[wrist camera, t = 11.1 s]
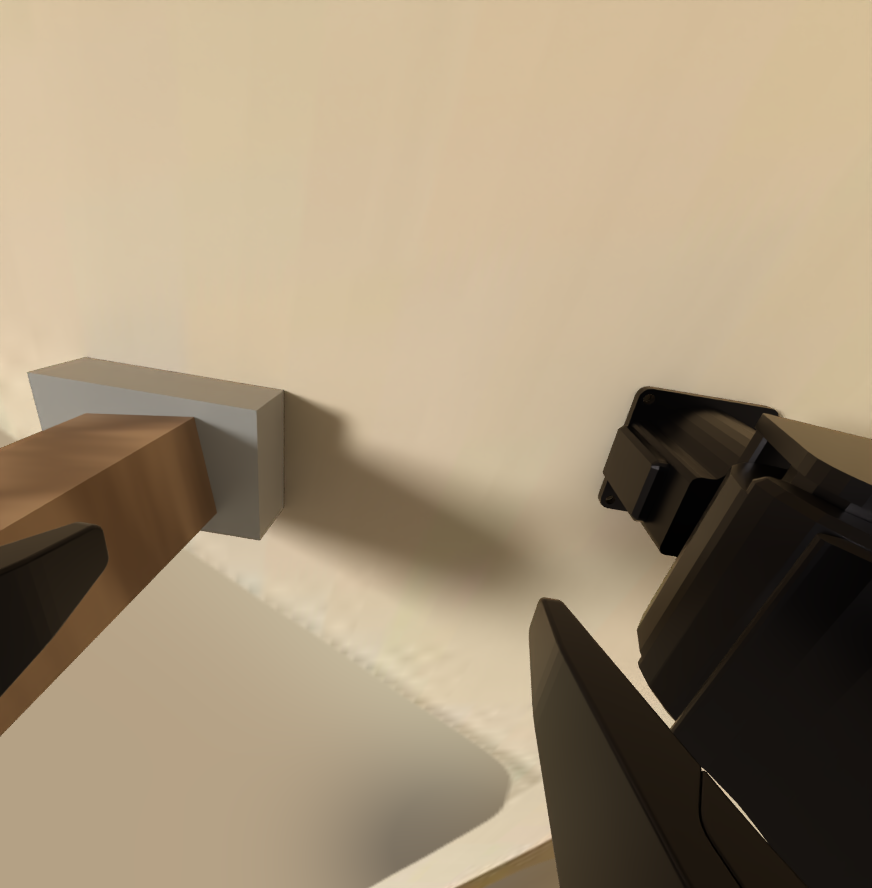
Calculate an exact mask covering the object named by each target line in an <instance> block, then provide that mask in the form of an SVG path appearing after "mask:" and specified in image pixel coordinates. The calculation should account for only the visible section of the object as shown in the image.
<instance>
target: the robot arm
mask: <svg viewBox="0 0 872 888" xmlns="http://www.w3.org/2000/svg"><path fill="white" fill-rule="evenodd" d="M648 394H651V399H650V400H649V401H647V402H644V401H643V400H644V397H645V396H646V395H648ZM603 474H604V476H605V478H604V481H603V484H602V486H601V489H600V492H599V495H598V499H599V501H600V503H601V505H602V506H604V507H606V508H610V509H616V510H622V511H628V513H629V514H630V516H631V517H632V519H633V520H634V521H639V522H641V524H642V525H643V527H644V528H645V530H646V531H647V533H648V534H649V536H650V537H651V539H652V540H653V542H654V543H655V545H656V546H657V548H658V549H659V551H660V552H661V553H662V554H664V555H670V556H675V557H677V559H676V560H675V562H674V564H673V565H672V567H671V569H670V570H669V572H668V574H667V575H666V577H665V579H664V580H663V582H662V584H661V585H660V587H659V589H658V590H657V592H656V593H655V595H654V597H653V598H652V600H651V602H650V604H649V606H648V607H647V609H646V611H645V612H644V614H643V616H642V618H641V621H640V623H639V626H638V628H637V634H638V641H639V649H640V653H641V658H640V659H639V661H638V665H639V668H640V670H641V672H642V674H643V676H644V678H645V680H646V682H647V684H648V686H649V687H650V689H651V690H652V692H653V693H654V695H655V696H656V697H657V699H658V700H659V702H660V703H661V704H662V706H663V707H664V709H665V710H666V711H667V713H668V714H669V715H670V716H671V717H672V718H673V719H674V720H675V723H674V724H673V725H672V727H671V728H670V729H669V727H668V726H667V725H666V724H665V723H664V722H663V720H662V719H661V718H660V717H659V716H658V714H657V713H656V712H655V711H654V710H653V708H652V707H651V706H650V705H649V704H648V703H647V701H646V700H645V699H644V698H643V697H642V695H641V694H640V693H639V692H638V691H637V690H636V688H635V687H634V686H633V685H632V684H631V682H630V681H629V680H628V679H627V678H626V676H625V675H624V674H623V673H622V672H621V671H620V669H619V668H618V667H617V666H616V665H615V663H614V662H613V661H612V660H611V659H610V658H609V656H608V655H607V654H606V653H605V652H604V650H603V649H602V648H601V647H600V646H599V644H598V643H597V642H596V641H595V640H594V639H593V637H592V636H591V635H590V634H589V633H588V631H587V630H586V629H585V628H584V627H583V626H582V624H581V623H580V622H579V621H578V620H577V618H576V617H575V616H574V615H573V614H572V612H571V611H570V610H569V609H568V608H567V607H566V605H565V604H564V603H563V602H562V601H560V600H557V599H551V598H545V597H543V598H541V599H540V600H539V602H538V604H537V607H536V610H535V613H534V616H533V619H532V622H531V625H530V629H529V650H530V669H531V688H532V706H533V718H534V726H535V733H536V739H537V745H538V752H539V758H540V765H541V771H542V777H543V784H544V790H545V796H546V803H547V809H548V816H549V822H550V828H551V835H552V841H553V847H554V854H555V860H556V866H557V872H558V879H559V886H560V888H872V439H868V438H864V437H860V436H856V435H852V434H848V433H844V432H840V431H836V430H831V429H827V428H823V427H819V426H815V425H811V424H807V423H803V422H799V421H795V420H791V419H786V418H782V417H778V413H777V412H776V410H774V409H772V408H770V407H767V406H763V405H757V404H751V403H745V402H739V401H733V400H727V399H722V398H716V397H710V396H704V395H698V394H692V393H686V392H680V391H674V390H668V389H662V388H656V387H650V386H646V387H643V388H641V389H639V390H638V391H637V393H636V394H635V397H634V400H633V402H632V405H631V408H630V411H629V413H628V416H627V419H626V421H625V424H624V425H623V426H622V427H621V428H619V429H618V431H617V434H616V437H615V440H614V442H613V445H612V448H611V451H610V453H609V456H608V459H607V462H606V464H605V467H604V470H603ZM608 496H613V497H612V498H611V499H610V500H605V499H606V498H607V497H608ZM108 561H109V554H108V550H107V545H106V541H105V536H104V531H103V529H102V528H101V527H100V526H99V525H96V524H91V523H84V522H75V523H71V524H68V525H65V526H62V527H59V528H56V529H52V530H49V531H46V532H43V533H40V534H37V535H34V536H31V537H27V538H24V539H21V540H18V541H15V542H12V543H9V544H5V545H2V546H0V697H1V696H2V695H3V694H4V693H5V692H6V691H7V689H8V688H9V687H10V686H11V685H12V684H13V683H14V682H15V680H16V679H17V678H18V677H19V676H20V675H21V674H22V673H23V672H24V670H25V669H26V668H27V667H28V666H29V665H30V664H31V663H32V661H33V660H34V659H35V658H36V657H37V656H38V655H39V654H40V652H41V651H42V650H43V649H44V648H45V647H46V646H47V644H48V643H49V642H50V641H51V640H52V639H53V637H54V636H55V635H56V634H57V632H58V631H59V630H60V628H61V627H62V626H63V625H64V623H65V622H66V621H67V619H68V618H69V617H70V615H71V614H72V613H73V611H74V610H75V609H76V607H77V606H78V605H79V603H80V602H81V601H82V599H83V598H84V597H85V595H86V594H87V593H88V591H89V590H90V589H91V587H92V586H93V585H94V583H95V582H96V581H97V579H98V578H99V577H100V575H101V574H102V573H103V571H104V570H105V568H106V566H107V564H108ZM701 767H702V768H703V769H705V770H706V771H707V772H708V773H709V774H710V775H711V776H712V777H713V778H714V780H715V781H716V782H717V783H718V784H719V785H720V786H721V787H722V788H723V789H724V790H725V791H726V792H727V793H728V794H729V795H730V796H731V797H732V798H733V799H734V800H735V801H736V802H737V803H738V805H739V806H740V807H741V808H742V810H743V811H744V812H745V813H746V815H747V816H748V817H749V819H750V820H751V821H752V822H753V824H754V825H755V826H756V827H757V829H758V830H759V831H760V833H761V834H762V835H763V837H764V838H765V839H766V840H765V839H764V838H763V837H762V836H761V835H760V834H759V833H758V832H757V830H756V829H755V828H754V827H753V826H752V825H751V824H750V822H749V821H748V820H747V819H746V818H745V817H744V815H743V814H742V813H741V812H740V811H739V810H738V809H737V807H736V806H735V805H734V804H733V803H732V802H731V801H730V799H729V798H728V797H727V796H726V795H725V794H724V792H723V791H722V790H721V789H720V788H719V786H718V785H717V784H716V783H715V782H714V781H713V779H712V778H711V777H710V776H709V775H708V773H707V772H705V771H701V770H702V769H701ZM766 841H767V842H768V843H767V842H766Z"/></svg>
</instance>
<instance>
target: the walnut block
mask: <svg viewBox="0 0 872 888" xmlns="http://www.w3.org/2000/svg"><path fill="white" fill-rule="evenodd" d="M216 514H217V510H216V506H215V502H214V498H213V493H212V489H211V485H210V481H209V477H208V473H207V468H206V464H205V460H204V456H203V452H202V448H201V444H200V439H199V435H198V431H197V427H196V423H195V419H194V417H182V416H153V415H124V414H95V413H85V414H82V415H80V416H78V417H75V418H73V419H70V420H68V421H65V422H63V423H60V424H58V425H56V426H53V427H51V428H48V429H46V430H43V431H41V432H38V433H36V434H34V435H31V436H29V437H26V438H24V439H21V440H19V441H16V442H14V443H12V444H9V445H7V446H4V447H2V448H0V546H2V545H5V544H9V543H12V542H15V541H18V540H21V539H24V538H27V537H31V536H34V535H37V534H40V533H43V532H46V531H49V530H52V529H56V528H59V527H62V526H65V525H68V524H71V523H75V522H84V523H91V524H96V525H99V526H100V527H101V528H102V529H103V531H104V536H105V541H106V545H107V550H108V554H109V561H108V564H107V566H106V568H105V570H104V571H103V573H102V574H101V575H100V577H99V578H98V579H97V581H96V582H95V583H94V585H93V586H92V587H91V589H90V590H89V591H88V593H87V594H86V595H85V597H84V598H83V599H82V601H81V602H80V603H79V605H78V606H77V607H76V609H75V610H74V611H73V613H72V614H71V615H70V617H69V618H68V619H67V621H66V622H65V623H64V625H63V626H62V627H61V628H60V630H59V631H58V632H57V634H56V635H55V636H54V637H53V639H52V640H51V641H50V642H49V643H48V644H47V646H46V647H45V648H44V649H43V650H42V651H41V652H40V654H39V655H38V656H37V657H36V658H35V659H34V660H33V661H32V663H31V664H30V665H29V666H28V667H27V668H26V669H25V670H24V672H23V673H22V674H21V675H20V676H19V677H18V678H17V679H16V680H15V682H14V683H13V684H12V685H11V686H10V687H9V688H8V689H7V691H6V692H5V693H4V694H3V695H2V696H1V697H0V736H1V735H2V734H3V733H4V732H5V731H6V730H7V729H8V728H9V727H10V726H11V725H12V724H13V723H14V722H15V720H17V718H18V717H19V716H20V715H21V714H22V713H23V712H24V711H25V710H26V709H27V708H28V707H29V706H30V705H31V704H32V703H33V702H34V701H35V700H36V699H37V698H38V697H39V696H40V695H41V694H42V693H43V692H44V691H45V690H46V689H47V688H48V687H49V686H50V685H51V684H52V682H53V681H54V680H55V679H56V678H57V677H58V676H59V675H60V674H61V673H62V672H63V671H64V670H65V669H66V668H67V667H68V666H69V665H70V664H71V663H72V662H73V661H74V660H75V659H76V658H77V657H78V656H79V655H80V654H81V653H82V652H83V650H84V649H85V648H86V647H87V646H88V645H89V644H90V643H91V642H92V641H93V640H94V639H95V638H96V637H97V636H98V635H99V634H100V633H101V632H102V631H103V630H104V629H105V628H106V627H107V626H108V625H109V624H110V623H111V622H112V621H113V620H114V619H115V618H116V617H117V615H119V614H120V612H121V611H122V610H123V609H124V608H125V607H126V606H127V605H128V604H129V603H130V602H131V601H132V600H133V599H134V598H135V597H136V596H137V595H138V594H139V593H140V592H141V591H142V590H143V589H144V588H145V587H146V586H147V585H148V584H149V583H150V582H151V580H152V579H153V578H154V577H155V576H156V575H157V574H158V573H159V572H160V571H161V570H162V569H163V568H164V567H165V566H166V565H167V564H168V563H169V562H170V561H171V560H172V559H173V558H174V557H175V556H176V555H177V554H178V553H179V552H180V551H181V550H182V549H183V548H184V547H185V546H186V544H187V543H188V542H189V541H190V540H191V539H192V538H193V537H194V536H195V535H196V534H197V533H198V532H199V531H200V530H201V529H202V528H203V527H204V526H205V525H206V524H207V523H208V522H209V521H210V520H211V519H212V518H213V517H214V516H215V515H216Z"/></svg>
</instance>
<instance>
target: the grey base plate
mask: <svg viewBox="0 0 872 888" xmlns="http://www.w3.org/2000/svg"><path fill="white" fill-rule="evenodd" d="M27 374H28V378H29V382H30V386H31V389H32V393H33V397H34V401H35V405H36V409H37V412H38V416H39V420H40V424H41V428H42V431H43V430H46V429H48V428H51V427H53V426H56V425H58V424H60V423H63V422H65V421H68V420H70V419H73V418H75V417H78V416H80V415H82V414H85V413H95V414H124V415H153V416H182V417H194V419H195V423H196V427H197V431H198V435H199V439H200V444H201V448H202V452H203V456H204V460H205V464H206V468H207V473H208V477H209V481H210V485H211V489H212V493H213V498H214V502H215V506H216V510H217V514H216V515H215V516H214V517H213V518H212V519H211V520H210V521H209V522H208V523H207V524H206V525H205V526H204V527H203V528H202V529H201V530H200V531H206V532H212V533H218V534H224V535H230V536H236V537H242V538H248V539H255V540H261V538H262V537H263V536H264V534H265V533H266V532H267V530H268V529H269V527H270V526H271V525H272V523H273V522H274V520H275V519H276V518H277V516H278V515H279V514H280V512H281V511H282V509H283V508H284V390H278V389H273V388H267V387H261V386H255V385H249V384H243V383H237V382H231V381H225V380H219V379H213V378H207V377H201V376H195V375H189V374H183V373H177V372H171V371H165V370H159V369H153V368H147V367H141V366H135V365H129V364H123V363H117V362H111V361H105V360H99V359H93V358H87V357H84V358H80V359H76V360H72V361H68V362H64V363H61V364H57V365H53V366H49V367H45V368H41V369H38V370H34V371H30V372H27Z"/></svg>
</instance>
